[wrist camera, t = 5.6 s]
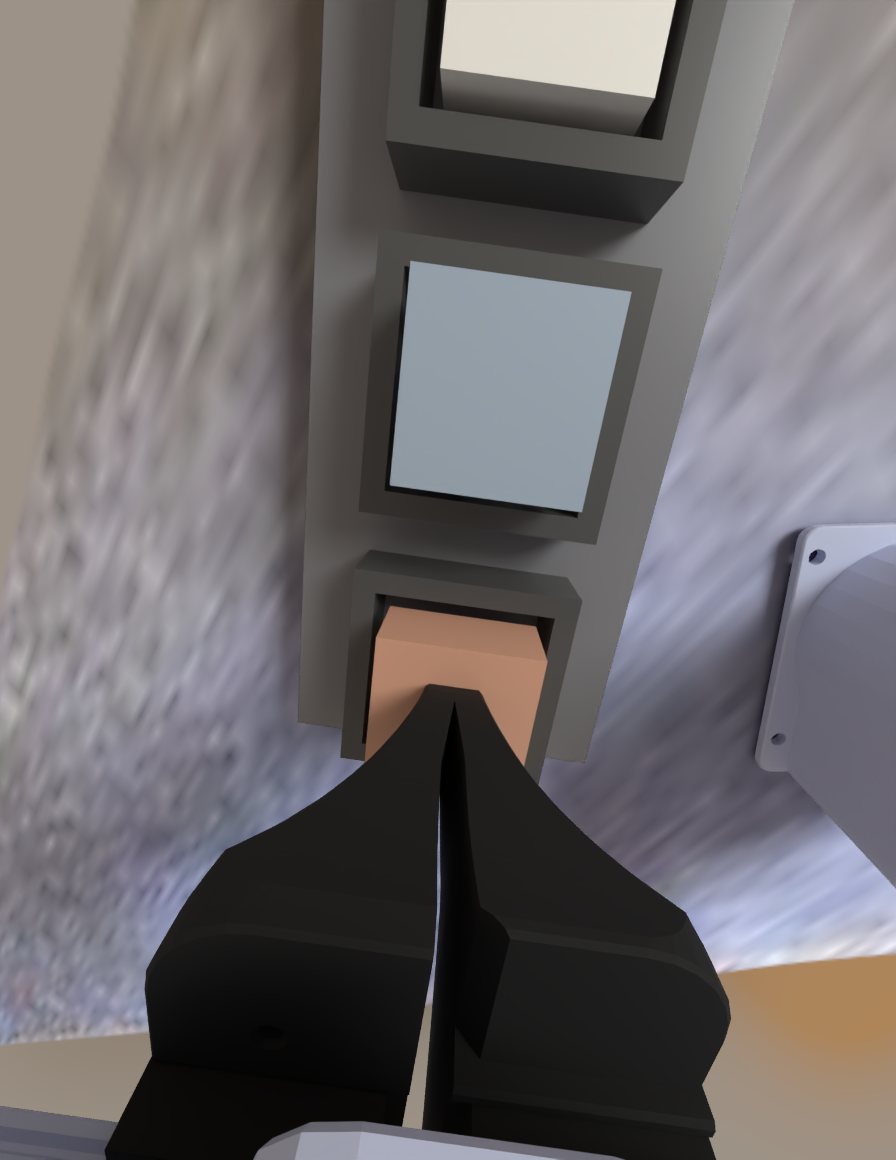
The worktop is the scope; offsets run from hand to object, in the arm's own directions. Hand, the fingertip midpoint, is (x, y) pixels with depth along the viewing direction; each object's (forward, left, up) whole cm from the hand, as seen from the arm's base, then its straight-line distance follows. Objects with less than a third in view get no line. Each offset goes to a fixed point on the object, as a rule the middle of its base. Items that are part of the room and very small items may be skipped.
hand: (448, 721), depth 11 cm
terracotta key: (0, 0, -2) cm, 2 cm away
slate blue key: (+7, -1, -2) cm, 8 cm away
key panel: (+7, -1, -6) cm, 9 cm away
